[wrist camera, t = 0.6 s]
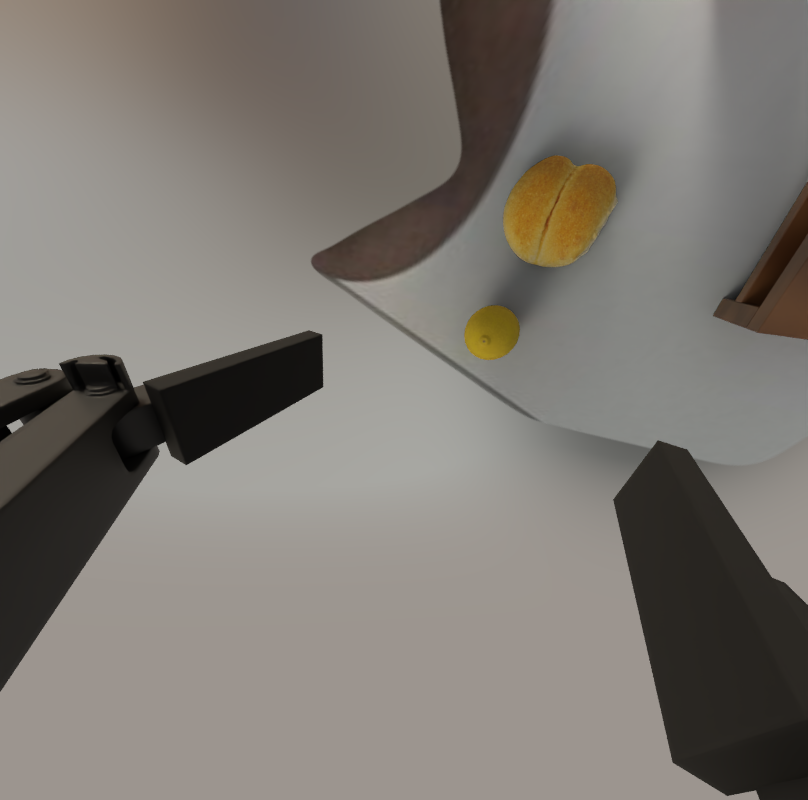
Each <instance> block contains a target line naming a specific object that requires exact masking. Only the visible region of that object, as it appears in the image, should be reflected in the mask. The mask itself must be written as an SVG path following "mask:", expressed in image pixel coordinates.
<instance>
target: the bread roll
mask: <svg viewBox="0 0 808 800" xmlns="http://www.w3.org/2000/svg"><path fill="white" fill-rule="evenodd" d="M617 202H618V200H617V197H616V185H615V181H614V179H613V177H612V176H611V175H610V174H609V172H608V171H607V170H605V169H604V168H602V167H600V166H598V165H593V164H586V165H582V166H575V165H573V164H572V162H571V161H570V160H569V159H568V158H566V157H564V156H558V155H556V156H551V157H548V158H546V159H544V160H542V161H540V162H539V163H537V164H536V165H534V166H533V167H531V168H530V169H529V170H528V171H526V172H525V174H524V175H523V176H522V177H521V178H520V180H519V181H518V182H517V183H516V185H515V186H514V188H513V189H512V191H511V193H510V195H509V197H508V200H507V202H506V205H505V208H504V216H503V225H504V232H505V236H506V239H507V241H508V243H509V245H510V247H511V249H512V250H513V251H514V253H515V254H516V255H517V256H518V257H519V258H520V259H522V260H524V261H525V262H528V263H530V264H536V265H539V266H544V267H560V266H565V265H569V264H571V263H573V262H575V261H576V260H577V259H579V258H580V257H581V256H583V255H584V254H585V253H587V252H588V250H589V249H590V247H591V245H592V244H593V242H594V241H595V239H596V238H597V236H598V235H599V233H600V231H601V229H602V227H604V225H605V223H606V222H607V219H608V216H609V215H610V213H611V212H612V210H613V208H614V207H615V206H616V204H617Z"/></svg>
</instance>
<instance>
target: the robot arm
mask: <svg viewBox="0 0 808 800" xmlns="http://www.w3.org/2000/svg"><path fill="white" fill-rule="evenodd" d="M322 354H323V353H322V334H319V333H315V332H312V331H306V332H302V333H299V334H296V335H293V336H290V337H286V338H284V339H280V340H277V341H273V342H270V343H267V344H264V345H261V346H258V347H254V348H251V349H248V350H244V351H241V352H238V353H235V354H232V355H228V356H225V357H222V358H219V359H216V360H212V361H209V362H206V363H203V364H199V365H196V366H193V367H190V368H186V369H183V370H180V371H177V372H174V373H170V374H167V375H164V376H161V377H158V378H154V379H151V380H148V381H145V382H143V384H144V385H141V386H138V387H134V388H133V386H132V383H131V380H130V378H129V376H128V373H127V371H126V368H125V366H124V363H123V361H122V359H121V358H120V357H117V356H114V355H90V356H83V357H77V358H74V359H70V360H67V361H64V362H62V363H60V364H59V365H60V366H61V369H62V370H63V371H62V370H58V369H45V368H44V369H39V370H38V369H32V370H29V371H24V372H21V373H18V374H15V375H11V376H8V377H6V378H3V379H0V691H1V690H2V688H3V687H4V685H5V684H6V682H7V681H8V679H9V678H10V676H11V675H12V673H13V672H14V670H15V669H16V667H17V666H18V665H19V663H20V662H21V660H22V659H23V657H24V656H25V654H26V653H27V651H28V650H29V648H30V647H31V645H32V644H33V642H34V641H35V639H36V638H37V636H38V635H39V633H40V631H41V630H42V629H43V627H44V626H45V624H46V623H47V621H48V620H49V618H50V617H51V615H52V614H53V612H54V611H55V609H56V608H57V606H58V605H59V603H60V602H61V600H62V599H63V597H64V596H65V594H66V593H67V591H68V589H69V588H70V587H71V585H72V584H73V582H74V581H75V579H76V578H77V576H78V575H79V573H80V572H81V570H82V569H83V568H84V566H85V565H86V563H87V561H88V560H89V559H90V557H91V556H92V554H93V553H94V551H95V550H96V548H97V547H98V545H99V544H100V542H101V541H102V539H103V538H104V536H105V535H106V533H107V532H108V530H109V529H110V527H111V526H112V524H113V523H114V521H115V520H116V518H117V517H118V515H119V514H120V512H121V510H122V509H123V508H124V506H125V505H126V503H127V502H128V500H129V499H130V497H131V496H132V494H133V493H134V491H135V490H136V488H137V487H138V485H139V484H140V482H141V481H142V479H143V478H144V476H145V475H146V473H147V472H148V470H149V469H150V467H151V466H152V465H153V463H154V461H155V460H156V459H157V457H158V455H159V449H158V447H157V445H159V444H161V443H164V442H166V443H167V446H168V449H169V451H170V454H171V456H172V457H174V458H176V459H177V460H179V461H180V462H182V463H184V464H185V465H187V464H189V463H191V462H193V461H194V460H196V459H198V458H200V457H201V456H203V455H205V454H207V453H208V452H210V451H212V450H214V449H215V448H217V447H219V446H221V445H222V444H224V443H226V442H228V441H229V440H231V439H233V438H235V437H236V436H238V435H240V434H242V433H243V432H245V431H247V430H249V429H250V428H252V427H254V426H256V425H258V424H259V423H261V422H263V421H264V420H266V419H268V418H270V417H272V416H273V415H275V414H277V413H279V412H280V411H282V410H284V409H285V408H287V407H289V406H291V405H292V404H294V403H296V402H298V401H299V400H301V399H303V398H305V397H307V396H308V395H310V394H312V393H313V392H315V391H317V390H319V389H321V388H322V387H323V355H322ZM18 419H20V420H21V422H22V423H23V426H22V427H21V428H19V429H18V430H16V431H15V432H13V433H11V431H10V430H9V429H8V427H7V426H6V425H8V424H10V423H12V422H14V421H16V420H18ZM613 500H614V504H615V509H616V514H617V518H618V522H619V527H620V531H621V536H622V540H623V544H624V549H625V553H626V558H627V562H628V566H629V571H630V575H631V580H632V584H633V589H634V593H635V598H636V602H637V606H638V610H639V615H640V620H641V624H642V628H643V633H644V637H645V642H646V646H647V651H648V655H649V660H650V664H651V668H652V673H653V677H654V682H655V686H656V691H657V695H658V699H659V703H660V708H661V713H662V716H663V721H664V726H665V730H666V734H667V739H668V744H669V748H670V752H671V757H672V761H673V763H675V764H676V765H678V766H680V767H681V768H683V769H684V770H686V771H688V772H689V773H691V774H692V775H694V776H696V777H697V778H699V779H701V780H702V781H704V782H706V783H707V784H709V785H711V786H712V787H714V788H715V789H717V790H719V791H720V792H722V793H724V794H725V795H727V796H729V795H734V794H739V793H744V792H749V791H754V790H756V791H757V794H758V796H759V799H760V800H808V605H807V604H806V603H805V602H804V601H803V600H802V599H801V598H800V597H799V596H798V595H797V594H796V593H795V592H794V591H793V590H792V589H791V588H790V587H789V586H788V585H787V584H786V583H784V582H781V581H779V580H776V579H774V578H772V577H771V576H770V574H769V573H768V571H767V570H766V568H765V566H764V565H763V563H762V562H761V560H760V559H759V557H758V556H757V554H756V553H755V551H754V550H753V548H752V547H751V545H750V544H749V542H748V541H747V539H746V538H745V536H744V535H743V533H742V532H741V530H740V529H739V527H738V526H737V524H736V523H735V521H734V520H733V518H732V516H731V515H730V514H729V512H728V510H727V509H726V507H725V506H724V504H723V503H722V501H721V500H720V498H719V497H718V495H717V494H716V492H715V491H714V489H713V488H712V486H711V485H710V483H709V482H708V480H707V479H706V477H705V476H704V474H703V473H702V471H701V470H700V468H699V467H698V465H697V464H696V462H695V460H694V459H693V457H692V456H691V454H690V453H689V451H688V450H687V449H683V448H680V447H677V446H674V445H671V444H668V443H664V442H661V441H657V442H656V444H655V445H654V446H653V448H652V449H651V450H650V452H649V453H648V454H647V456H646V457H645V458H644V460H643V461H642V462H641V464H640V465H639V466H638V468H637V469H636V470H635V472H634V473H633V474H632V476H631V477H630V478H629V480H628V481H627V482H626V484H625V485H624V486H623V487H622V489H621V490H620V491H619V493H618V494H617V495H616V497H615V498H614V499H613Z"/></svg>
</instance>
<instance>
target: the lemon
mask: <svg viewBox="0 0 808 800" xmlns="http://www.w3.org/2000/svg"><path fill="white" fill-rule="evenodd" d="M519 332H520V327H519V322H518V320H517V318H516V316H515V315H514V314H513V313H512V312H511V311H510V310H509V309H507V308H505V307H502V306H498V305H491V306H487V307H484V308H482V309H480V310H478V311H477V312H476V313H475V314H473V315H472V316H471V318H470V319H469V321H468V323H467V325H466V328H465V335H464V337H465V343H466V345H467V348H468V349H469V351H470V352H471V353H472V354H473V355H475V356H476V357H478V358H480V359H485V360H494V359H497V358H501V357H503V356H504V355H506V354H508V353H509V352H510V351H511V350H512V349H513V348H514V346H515V344H516V343H517V340H518V337H519Z"/></svg>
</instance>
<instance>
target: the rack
mask: <svg viewBox="0 0 808 800" xmlns="http://www.w3.org/2000/svg"><path fill="white" fill-rule="evenodd" d="M713 316H714V317H717V318H720V319H722V320H725V321H728V322H730V323H733V324H736V325H738V326H741V327H744V328H747V329H749V330H752V331H755V332H757V333H764V334H771V335H778V336H786V337H793V338H800V339H807V340H808V182H807V183H806V185H805V187H804V188H803V190H802V191H801V193H800V195H799V196H798V198H797V200H796V201H795V203H794V205H793V206H792V208H791V210H790V211H789V213H788V215H787V216H786V218H785V219H784V221H783V223H782V224H781V226H780V228H779V229H778V231H777V233H776V234H775V236H774V238H773V239H772V241H771V243H770V244H769V246H768V247H767V249H766V251H765V252H764V254H763V256H762V257H761V259H760V261H759V262H758V264H757V266H756V267H755V269H754V271H753V272H752V274H751V276H750V277H749V279H748V280H747V282H746V284H745V285H744V287H743V289H742V290H741V292H740V294H739V295H738V297H737V299H736V300H733V299H722V301H721V303H720V304H719V306H718V308H717V310H716V311H715V313H714V315H713Z"/></svg>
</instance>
